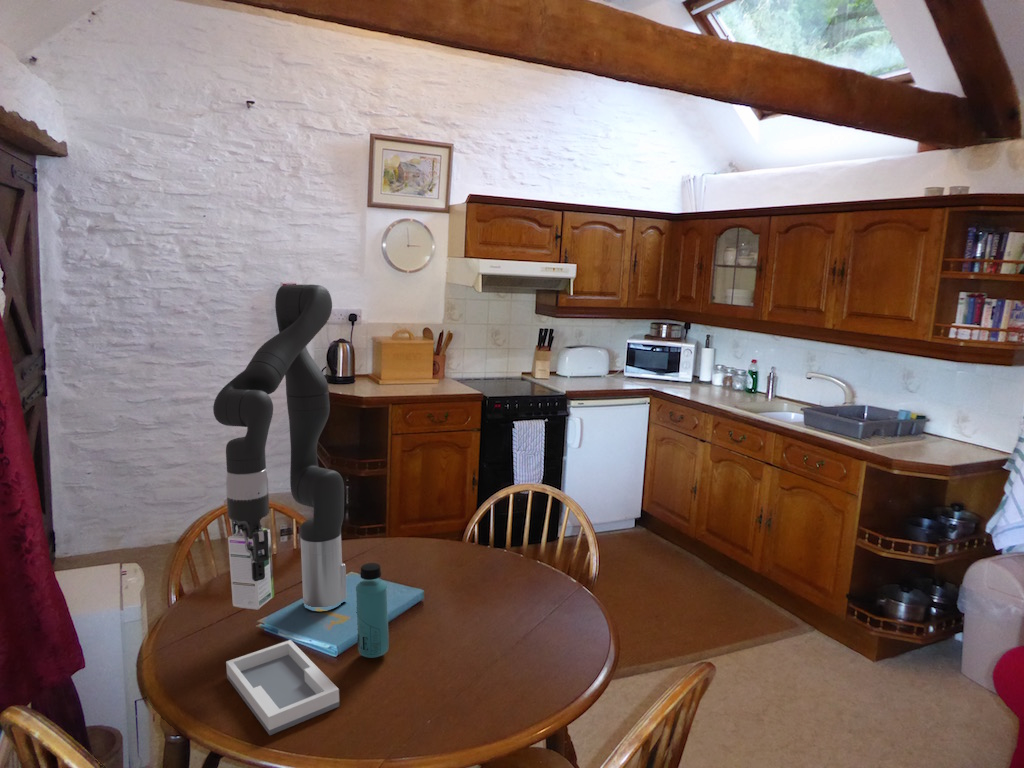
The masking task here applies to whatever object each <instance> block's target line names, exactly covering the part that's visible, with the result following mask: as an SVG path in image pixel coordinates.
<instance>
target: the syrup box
mask: <svg viewBox="0 0 1024 768" xmlns="http://www.w3.org/2000/svg"><path fill="white" fill-rule="evenodd" d="M263 530H267V531H268V547H269V560H267V561H264V567H265V578H264V579H263V580H259V581H254V580H253V579H252V565H251V558H250V554H249V552H247V551H246V549H245V540H244V537H242V536H241V534H240V533H235V534H233V535H232V534H231V535H230V536H228V537H227V540H228V541H227V542H228V543H227V544H228V554H229V555H228V556H229V572H230V583H231V584H230V586H231V596H232V597H231V598H232V599H231V601H232V606H233V607H235V608H240V609H249V610H257V611H258V610H260V608H262V607H263V606H264V605H266V604H267V603H268V602H269V601H270V600H272V599H273V598H275V588H274V572H273V571H274V570H273V557H272V542H271V541H272V539H271V537H272V536H271V529H269V528H266V527H263ZM248 541H249V545H250V546H253V540H252V539H249V538H248ZM253 551H254V550H253ZM258 555H261V554H260V551H258Z"/></svg>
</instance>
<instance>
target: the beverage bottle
mask: <svg viewBox="0 0 1024 768" xmlns="http://www.w3.org/2000/svg"><path fill="white" fill-rule="evenodd" d="M380 577H382V571H381V565H380V564H379V563H377V562H369V563H364V564H363V565H361V567H360V578H361V579H362V580H361V581H360V582H359V583H358V584H356V587H355V592H356V593H355V594H356V595H355V596H356V621H357V623H356V625H357V629H356V630H357V639H356V641H357V642H356V643H357V651H358V652H359V655H361V656H362V657H363V658H364V657H365V658H370V659H372V658H373V659H374V658H378V657H381V656H384V655H385V654H386V653H388V651H389V647H390V645H389V644H390V633H389V631H390V630H389V613H388V590H387V589H388V584H387V583H386V581H384V580H382V578H380Z"/></svg>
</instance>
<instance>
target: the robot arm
mask: <svg viewBox="0 0 1024 768" xmlns="http://www.w3.org/2000/svg"><path fill="white" fill-rule="evenodd" d="M274 305H275V315H276V316H275V317H276V322H277V327H278V328H277V329H278V333H277V334H276V335H274V336H272V337H271V338H270V339H268V340H266V342H264V343H263V344H262V345H261V346H260V347H259V348H258V349H257V351H256V352H255V353H254V355H253V356H252V358H251V360H250V361H249V363H248V364H247V365H246V367H245V369H244V370H243V371H242V372H240V373H239V374H237V375H236V376H235V377H234V378H233V379H232V380H230V381H229V382H228V383H227V384H225V385H224V387H223V388H222V389H221V390H220V391H219V392H218V394H217V395H216V397H215V400H214V402H213V406H212V407H213V410H212V411H213V412H212V413H213V415H214V418H215V420H216V421H217V422H218V423H219V424H221V425H223V426H228V427H242V428H247V429H246V434H245V436H241V437H236V438H233V439H230V440H229V441H227V443H226V446H225V457H226V458H225V460H226V461H225V462H226V479H225V486H226V487H225V489H226V490H225V491H226V506H227V507H226V509H227V517H228V518H229V519H230V520H231V529H232V532H231V533H232V534H231V536H232V535H233V534H235V533H240V534H241V536H242V537H244V540H245V549H246V551H247V552H249V554H250V558H251V565H252V579H253V580H254V581H259V580H263V579H264V578H265V567H264V561H267V560H269V547H268V531H267V530H263V528H264V527H263V524H261V520H262V519H263V518H265V517H267V516H268V515H269V514H270V506H269V505H270V503H269V502H270V501H269V499H270V498H269V480H268V473H267V466H266V460H267V459H266V445H267V440H268V435H269V431H270V426H271V424H272V420H273V419H272V418H273V415H274V404H273V401H272V399H271V397H270V395H271V394H272V393H275V392H276V390H277V389H278V388H279V386H280V385H281V382H282V381H283V379H284V377H285V379H284V380H285V393H286V407H287V413H288V421H289V423H288V424H289V440H290V442H289V443H290V473H289V474H290V478H289V479H290V480H289V481H290V483H289V484H290V485H289V486H290V492H291V496H292V498H293V499H294V501H295V502H296V503H298V504H300V505H302V506H305V507H311V508H313V517H312V518H309V519H306V520H305V521H303V522H302V523H301V524H300V528H299V532H300V534H299V535H300V536H299V538H300V556H301V558H300V561H301V576H302V577H301V580H302V581H301V582H302V600H303V601H302V602H304V604H306V605H308V606H311V607H328V606H333V605H336V604H337V603H339V602H341V601H342V600H343V599H346V598H348V597H347V594H348V593H347V569H346V568H347V567H346V564H345V563H344V562H343V555H342V553H343V551H342V550H343V549H342V525H343V522H344V518H345V516H344V515H345V484H344V479H343V477H342V475H341V473H339V472H338V471H336V470H334V469H329V468H324V467H320V466H319V461H318V460H319V459H318V442H319V439H320V436H321V434H322V432H323V430H324V428H325V426H326V425H327V424H326V423H327V421H328V419H329V416H330V412H331V411H330V409H331V408H330V407H331V405H330V393H329V383H328V381H327V378H326V377H325V375H324V373H323V372H322V370H321V369H320V367H319V366H318V364H317V363H316V362H315V360H314V359H313V357H312V355H311V354H310V353H309V350H308V349H307V347H308V344H310V343H311V342H312V341H313V339H314V338H315V337H316V336H317V334H319V332H320V331H321V330H322V328H324V326H325V325H326V324H327V322H328V321H329V320H330V317H331V315H332V310H333V301H332V296H331V293H330V292H329V289H327V287H325V286H324V285H319V284H283V285H281V286H280V287H279V288H278V289H277V291H276V295H275V304H274ZM248 538H249V539H252V540H253V546H250V545H249V541H248ZM253 550H254V551H253ZM258 551H260V554H261V555H258Z"/></svg>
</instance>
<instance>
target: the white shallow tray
mask: <svg viewBox="0 0 1024 768" xmlns="http://www.w3.org/2000/svg"><path fill="white" fill-rule="evenodd" d="M225 665H226V679H227V680H228V682H229V683H230V684H231V685H232V687H233V689H234V690H235V691H236V692H237V693H238V695H239V696H240V697H241V699H242V701H243V702H244V703H245V704H246V706H247V707H248V708H249V709H250V711H251V712H252V714H253V715H254V717H256V719H257V720H258V722H259V723H260V724H261V726H262V727H263V729H264V730H265V731H266V732H267V734H268V735H269V736H272V735H275V734H277V733H279V732H282V731H284V730H287V729H289V728H291V727H294V726H296V725H299V724H301V723H303V722H305V721H309V720H310V719H313V718H315V717H318V716H319V715H322V714H325V713H327V712H329V711H331V710H334V709H336V708H340V689H339V688H338V687H337V686H336V684H334V682H332V681H331V680H330V678H329V677H328V676H327V675H326V674H325V673H324V672H323V671H322V670H321V669H320V668H319V667H318V666H317V665H316V664H315V663H314V662H313V661H312V660H311V659H310V658H309V657H308V656H307V654H305V653H304V652H303V650H301V648H299V647H298V646H297V644H296V643H294V642H293V640H292V639H289V640H285V641H282V642H279V643H277V644H274V645H271V646H268V647H265V648H262V649H260V650H257V651H254V652H250V653H247V654H245V655H242V656H239V657H236V658H233V659H230V660H227V661H226V662H225Z"/></svg>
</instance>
